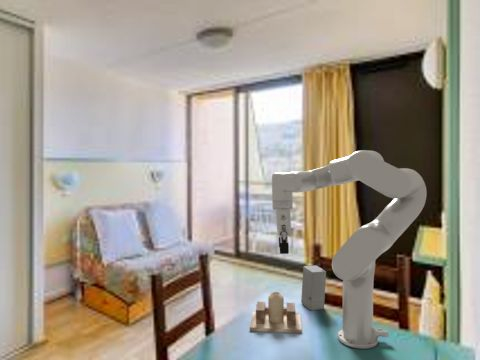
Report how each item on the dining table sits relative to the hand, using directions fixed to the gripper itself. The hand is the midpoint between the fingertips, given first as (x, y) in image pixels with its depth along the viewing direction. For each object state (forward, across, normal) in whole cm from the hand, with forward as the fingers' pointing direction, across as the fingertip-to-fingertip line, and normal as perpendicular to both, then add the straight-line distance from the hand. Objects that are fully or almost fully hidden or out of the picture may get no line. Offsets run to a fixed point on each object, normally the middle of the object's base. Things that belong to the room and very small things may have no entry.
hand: (283, 250), depth 135 cm
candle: (+25, -5, +4) cm, 25 cm away
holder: (+26, -5, +4) cm, 26 cm away
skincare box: (+26, +12, -12) cm, 31 cm away
